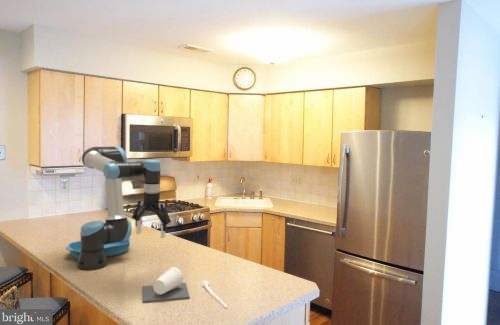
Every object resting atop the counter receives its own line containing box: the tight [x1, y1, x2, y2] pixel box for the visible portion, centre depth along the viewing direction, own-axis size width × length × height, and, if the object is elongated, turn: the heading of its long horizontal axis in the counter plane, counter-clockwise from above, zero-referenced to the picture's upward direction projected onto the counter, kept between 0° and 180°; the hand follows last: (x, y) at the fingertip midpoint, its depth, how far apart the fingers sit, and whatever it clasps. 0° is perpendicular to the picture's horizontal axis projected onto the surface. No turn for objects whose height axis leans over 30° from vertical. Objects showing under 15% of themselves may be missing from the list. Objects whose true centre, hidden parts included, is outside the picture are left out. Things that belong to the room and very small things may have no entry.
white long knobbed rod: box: [200, 280, 228, 309], centre depth 175 cm, size 28×4×3 cm, turn 29°
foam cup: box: [152, 266, 184, 294], centre depth 175 cm, size 10×9×13 cm
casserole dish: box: [65, 237, 131, 261], centre depth 229 cm, size 37×22×7 cm, turn 131°
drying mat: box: [142, 282, 190, 304], centre depth 176 cm, size 20×16×1 cm
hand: (150, 235), depth 186 cm, fingers open, 13 cm apart
